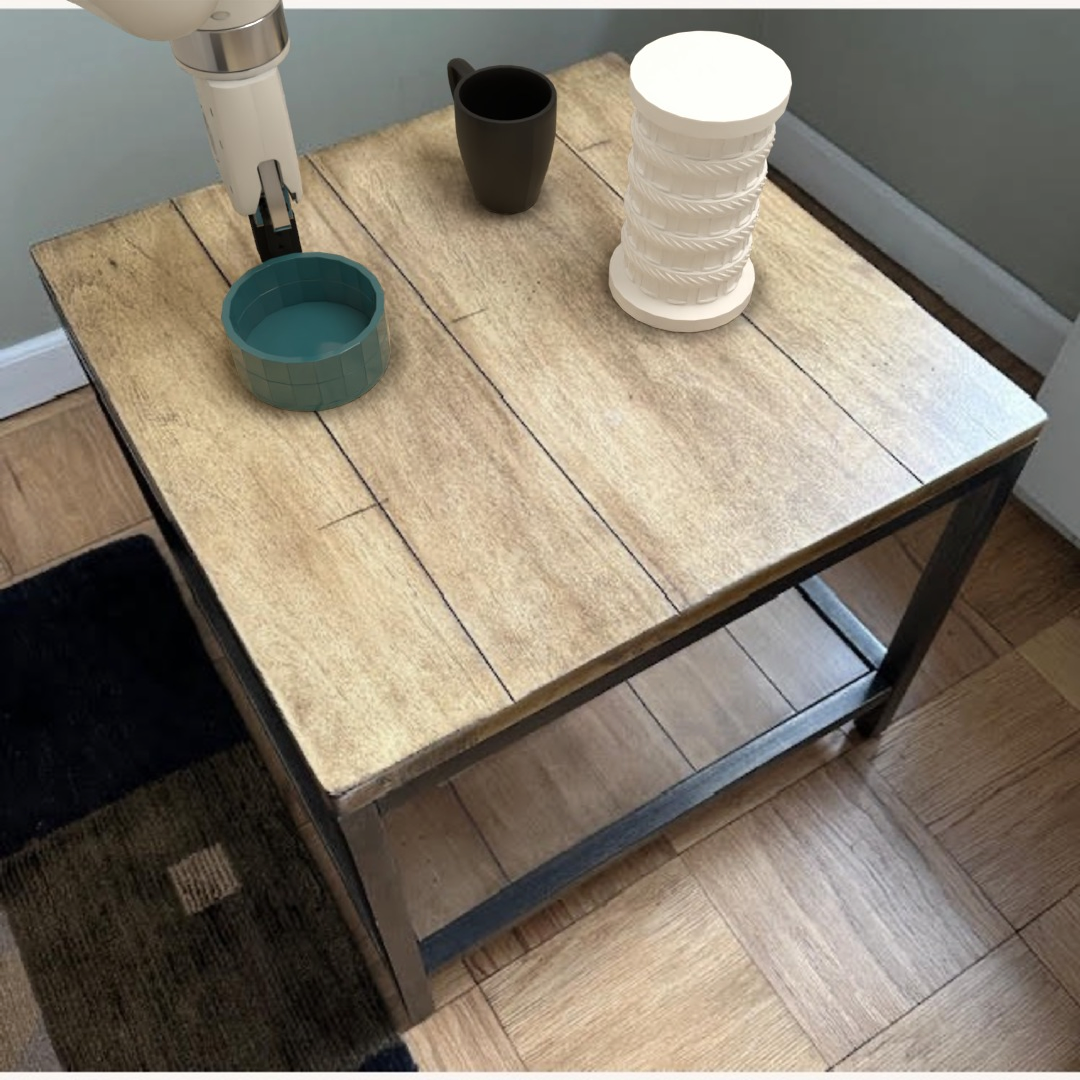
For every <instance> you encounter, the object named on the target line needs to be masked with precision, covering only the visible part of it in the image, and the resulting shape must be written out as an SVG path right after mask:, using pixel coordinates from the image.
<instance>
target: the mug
mask: <svg viewBox="0 0 1080 1080" xmlns="http://www.w3.org/2000/svg"><path fill="white" fill-rule="evenodd" d="M446 65H447V66H446V71H447V79H448V85H449V88H450V93H451V96H452V101H453V108H454V109H453V110H454V125H455V134H456V135H455V136H456V140H457V146H458V149H459V153H460V157H461V161H462V165H463V166H464V169H465V173H466V175H467V178H468V180H469V181H468V182H469V183H470V186H471V188H472V191H473V194H474V197H475V200H476V201H477V203H478V204H479V205H480V206H481V207H483V208H484V209H485V210H487V211H490V212H493V213H496V214H503V215H504V214H507V215H508V214H517V213H521V212H524V211H527V210H528V209H530V208H532V207H533V206H534V205H535V204H536V203H537V201H538V199H539V197H540V193H541V190H542V187H543V184H544V182H545V178H546V175H547V173H548V170H549V166H550V164H551V163H550V162H551V159H552V155H553V152H554V147H555V140H556V135H557V111H558V92H557V89H556V87H555V85H554V83H553V82H552V81H551V79H550V78H549V77H548V76H546V75H545V74H543V73H542V72H539V71H538V70H535V69H532V68H530V67H526V66H521V65H513V64H498V65H490V66H486V67H481V68H478V69H475V68H474V67H473V66H472V64H470V63H469V62H468V61H467V60H465V59H464V58H461V57H454V58H452V59H450V60H449V61H448V62H447V64H446Z"/></svg>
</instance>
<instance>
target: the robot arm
mask: <svg viewBox="0 0 1080 1080" xmlns="http://www.w3.org/2000/svg"><path fill="white" fill-rule="evenodd" d="M66 1H67V2H70V3H72V4H75V5H76V6H77V7H80V8H82V9H84V11H87V12H90V13H91V14H93V15H95V16H96V17H98V18H100V19H102V20H103V21H105V22H107V23H109V24H110V25H112V26H113V27H115V28H118V30H119V29H120V30H121V31H123V32H125V33H126V34H128V35H130V36H133V37H136V38H139V39H143V40H147V41H152V42H153V41H154V42H169V45H170V49H171V53H172V56H173V59H174V62H175V64H176V65H177V66H178V67H179V69H181V70H182V71H184V72H185V73H186V74H188V75H190V76H193V82H194V87H195V90H196V94H197V98H198V102H199V105H200V109H201V113H202V117H203V120H204V121H203V122H204V125H205V130H206V134H207V138H208V144H209V147H210V150H211V154H212V157H213V160H214V163H215V165H216V168H217V170H218V173H219V175H220V178H221V181H222V184H223V186H224V188H225V191H226V193H227V196H228V198H229V201H230V203H231V205H232V207H233V210H234V211H235V212H236V213H237V214H238V215H239V216H241V217H243V218H246V217H248V221H249V224H250V229H251V232H252V236H253V240H254V244H255V248H256V251H257V254H258V256H259V259H260V261H261V263H263V262H265V261H267V260H269V259H272V258H276V257H280V256H284V255H288V254H292V253H303V248H302V243H301V239H300V234H299V229H298V224H297V219H296V215H295V212H294V210H293V208H292V204H291V201H292V202H295V204H296V205H298V204H299V203H300V202H301V201H302V200H303V197H304V190H303V184H302V183H303V182H302V177H301V172H300V165H299V159H298V155H297V149H296V145H295V140H294V135H293V129H292V125H291V119H290V115H289V110H288V105H287V101H286V100H287V99H286V95H285V92H284V87H283V82H282V78H281V74H280V69H279V65H280V64H281V63H282V62H283V61H284V60H285V59H286V58H287V56H288V54H289V53H290V48H291V38H290V33H289V28H288V24H287V23H288V22H287V17H286V11H285V6H284V2H283V0H66Z"/></svg>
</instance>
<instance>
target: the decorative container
mask: <svg viewBox="0 0 1080 1080" xmlns="http://www.w3.org/2000/svg"><path fill="white" fill-rule="evenodd" d="M792 85H793V81H792V74H791V70H790V69H789V67H788V66H787V64H786V62H785V60H783V59H782V58H781V57H780V55H778V54H777V53H775V51H774V50H772V49H771V48H770V47H767V46H765V45H764V44H762V43H760V42H758V41H756V40H753V39H750V38H747V37H745V36H741V35H739V34H734V33H728V32H723V31H713V30H712V31H710V30H693V31H683V32H675V33H673V34H669V35H667V36H662V37H660V38H657V39H656V40H653V41H651V42H650V43H647V44H645V46H643V47H642V48H641V49H640V50H639V51H638V52H637V53H636V54H635V56H634V57H633V60H632V62H631V63H630V66H629V77H628V96H629V98H630V100H631V102H632V105H633V107H634V110H633V111H632V115H631V117H630V120H629V121H630V122H629V123H630V124H629V125H630V127H629V129H630V135H631V142H632V143H633V144H632V146H631V147H630V150H629V153H628V156H627V161H626V171H627V177H628V181H629V183H628V185H627V187H626V189H625V192H624V194H623V195H624V196H623V209H624V212H625V213H624V215H625V217H626V218H625V219H624V222H623V224H622V227H621V231H620V243H619V244H617V246H616V247H615V248H614V250H613V253H612V255H611V258H610V259H609V266H608V267H609V269H608V287H609V290H610V292H611V295H612V298H613V299H614V301H615V302H616V303H617V304H618V305H619V307H620V308H621V309H622V310H623V311H624V312H625V313H626V314H628V315H629V316H631V318H633V319H635V320H636V321H639V322H641V323H643V324H645V325H648V326H650V327H651V328H656V329H660V330H664V331H668V332H674V333H677V332H678V333H695V332H704V331H710V330H713V329H716V328H719V327H721V326H724V325H727V324H728V323H730V322H732V321H734V319H736V318H738V317H739V316H740V315H741V314H742V313H743V312H744V310H745V309H746V308H747V306H748V305H749V304H750V300H751V297H752V294H753V292H754V286H755V282H756V274H755V266H754V264H753V262H752V260H751V258H750V257H751V252H752V251H753V248H752V246H753V244H754V241H753V239H754V237H753V231H754V229H755V227H756V224H757V223H758V218H759V217H760V213H759V212H760V211H761V207H760V206H761V203H760V196H761V194H762V191H763V188H764V187H765V186H766V183H765V181H767V180H768V177H767V175H768V173H769V171H768V160H767V158H768V157H769V156H770V153H771V150H772V148H773V146H774V144H773V142H775V141H776V138H775V135H776V134H777V132H776V129H777V128H776V126H777V125H776V122H777V121H779V119H780V118H781V117H782V116H783V115H784V114H785V112H786V109H787V106H788V103H789V100H790V95H791V90H792Z"/></svg>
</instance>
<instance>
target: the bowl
mask: <svg viewBox="0 0 1080 1080" xmlns="http://www.w3.org/2000/svg"><path fill="white" fill-rule="evenodd" d="M387 310H388V309H387V303H386V296H385V291H384V289H383V287H382V285H381V283H380V281H379V279H378V278H377V276H376V275H375V274H374V273H372V272H371V271H370V270H369V269H368V268H367V267H366V266H365V265H363V264H362V263H361V262H357V261H355V260H353V259H351V258H349V257H346V256H345V255H341V254H336V253H330V252H324V251H308V252H307V251H305V252H302V253H292V254H288V255H284V256H280V257H276V258H272V259H269V260H267V261H265V262H263V263H262V262H261V263H259V264H258V265H255V266H253V267H251V268H250V269H248V270H247V271H246V272H244V273H243V274H242V275H241V276H240V277H239V278H238V279H236V280H235V281H234V282H233V283H232V285H231V286H230V288H229V290H228V291H227V292H226V294H225V296H224V298H223V300H222V305H221V314H220V320H221V324H222V327H223V331H224V334H225V337H226V341H227V344H228V347H229V350H230V353H231V356H232V361H233V364H234V366H235V369H236V372H237V375H238V377H239V380H240V382H241V383H242V385H243V386H244V388H245V389H246V390H247V391H248V392H249V393H250V394H251V395H253V396H254V397H255V398H256V399H257V400H259V401H261V402H263V403H264V404H267V405H270V406H271V407H275V408H278V409H282V410H287V411H292V412H319V411H325V410H330V409H334V408H337V407H340V406H344V405H346V404H348V403H352V402H353V401H355V400H357V399H359V398H361V397H362V396H363V395H365V394H366V393H368V392H369V391H370V390H371V389H373V388H374V387H375V386H376V385H377V384H378V382H379V381H380V380H381V379H382V377H383V376H384V374H385V373H386V372H387V369H388V367H389V364H390V360H391V357H392V356H391V355H392V346H391V333H390V331H391V330H390V326H389V325H390V324H389V317H388V311H387Z"/></svg>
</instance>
